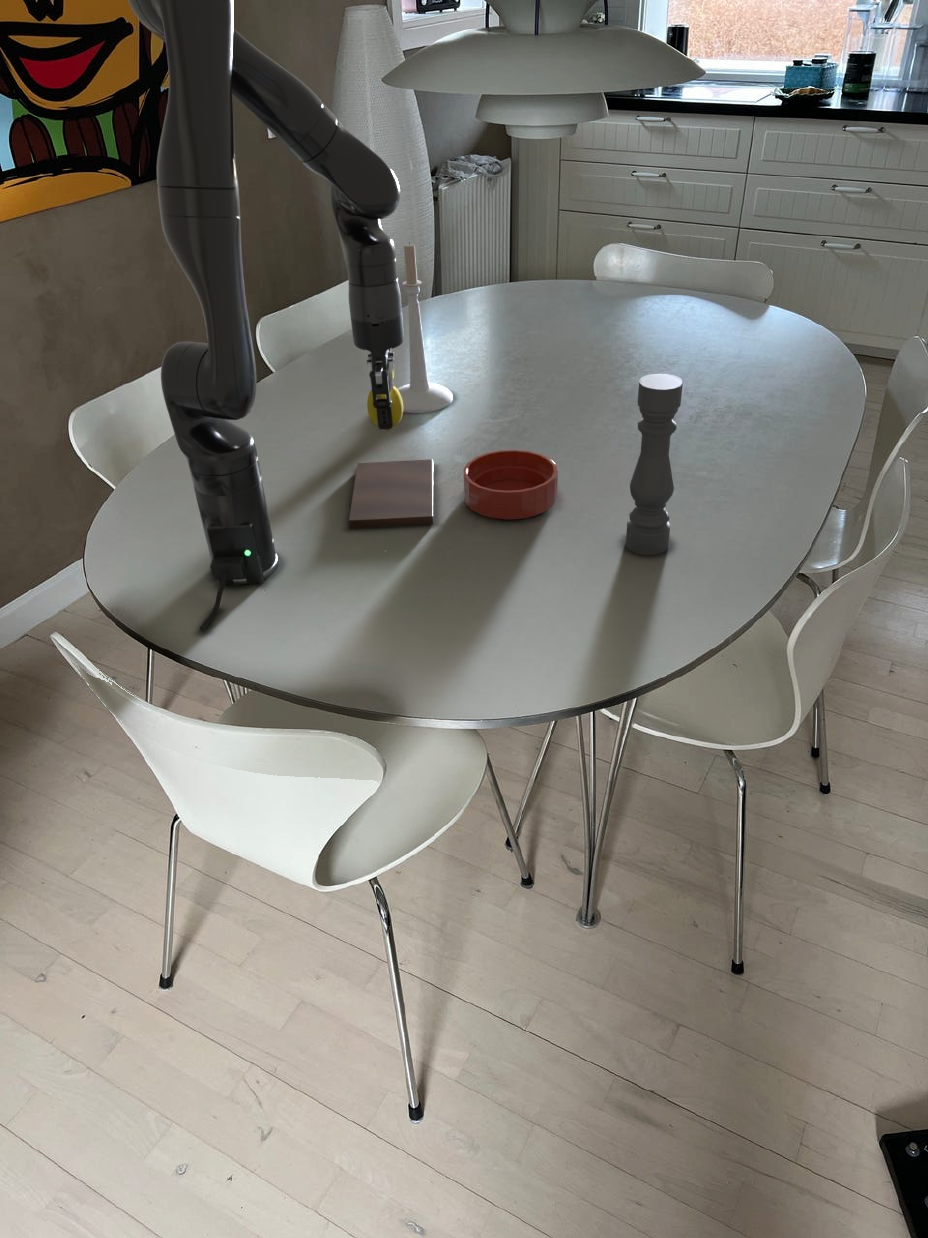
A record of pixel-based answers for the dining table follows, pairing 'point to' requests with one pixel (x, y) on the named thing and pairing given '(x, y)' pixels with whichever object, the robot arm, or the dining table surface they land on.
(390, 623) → the dining table surface
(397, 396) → the lemon
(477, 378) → the dining table surface
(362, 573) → the dining table surface
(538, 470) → the bowl
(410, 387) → the candlestick
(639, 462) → the candle holder
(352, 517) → the board
